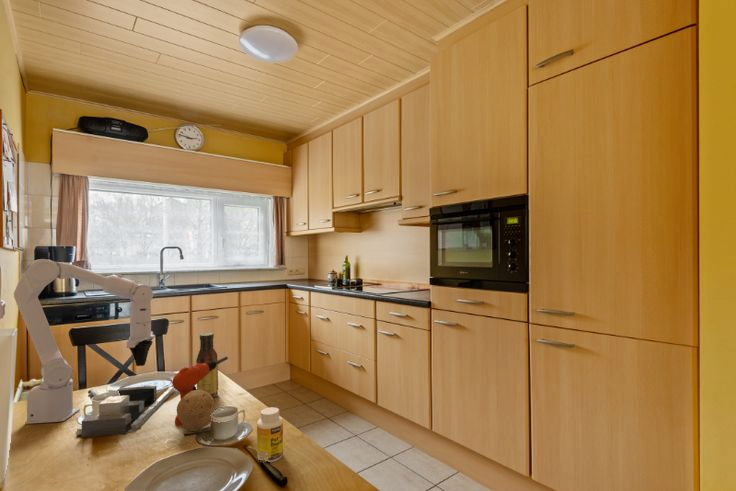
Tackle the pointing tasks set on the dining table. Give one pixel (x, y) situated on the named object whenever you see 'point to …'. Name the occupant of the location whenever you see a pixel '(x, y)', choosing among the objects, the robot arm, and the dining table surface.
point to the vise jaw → (139, 399)
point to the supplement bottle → (270, 435)
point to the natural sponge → (195, 410)
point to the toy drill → (192, 379)
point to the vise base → (118, 420)
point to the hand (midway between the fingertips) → (140, 365)
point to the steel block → (114, 405)
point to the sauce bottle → (204, 356)
